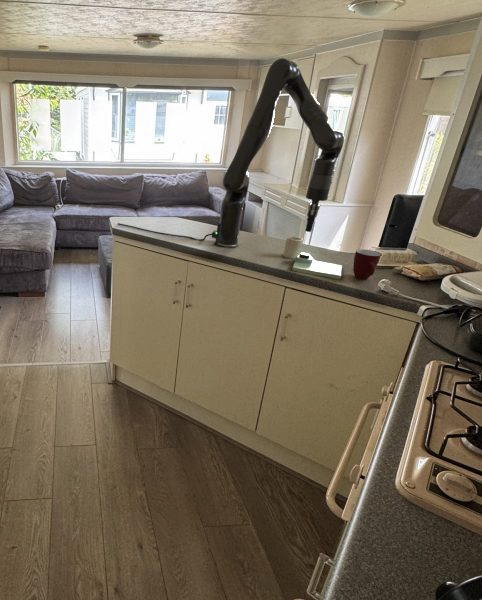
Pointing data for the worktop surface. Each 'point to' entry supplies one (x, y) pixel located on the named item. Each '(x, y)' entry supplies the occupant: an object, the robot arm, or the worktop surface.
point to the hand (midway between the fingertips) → (308, 231)
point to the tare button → (304, 255)
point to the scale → (317, 267)
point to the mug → (365, 263)
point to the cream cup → (292, 247)
